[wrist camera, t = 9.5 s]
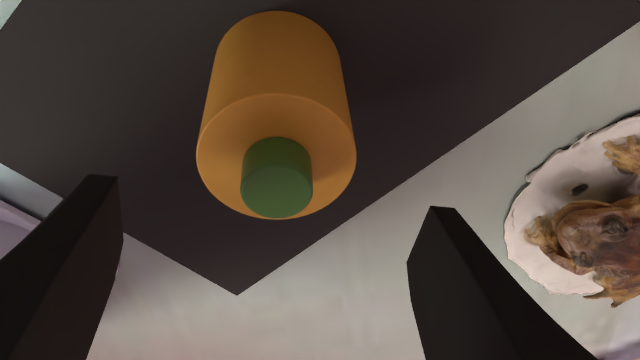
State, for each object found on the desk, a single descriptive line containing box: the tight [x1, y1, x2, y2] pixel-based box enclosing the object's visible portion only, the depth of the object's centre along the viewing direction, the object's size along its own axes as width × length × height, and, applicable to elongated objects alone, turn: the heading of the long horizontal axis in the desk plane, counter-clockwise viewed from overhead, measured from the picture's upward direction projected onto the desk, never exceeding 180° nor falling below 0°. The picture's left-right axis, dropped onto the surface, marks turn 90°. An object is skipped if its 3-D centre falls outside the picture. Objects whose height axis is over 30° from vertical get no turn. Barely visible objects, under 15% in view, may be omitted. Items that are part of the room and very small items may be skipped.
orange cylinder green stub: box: [196, 11, 356, 220], centre depth 15 cm, size 4×4×6 cm
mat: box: [0, 0, 640, 295], centre depth 18 cm, size 20×14×1 cm
